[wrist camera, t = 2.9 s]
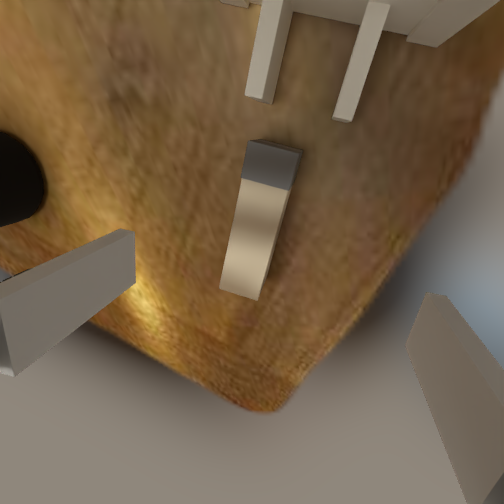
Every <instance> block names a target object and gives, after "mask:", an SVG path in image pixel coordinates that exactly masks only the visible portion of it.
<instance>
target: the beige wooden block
mask: <svg viewBox="0 0 504 504" xmlns="http://www.w3.org/2000/svg"><path fill="white" fill-rule="evenodd" d="M302 153H303V150H301V149H297V148H293V147H289V146H285V145H281V144H277V143H273V142H270V141H266V140H262V139H258V140H249V141H248V144H247V149H246V154H245V159H244V164H243V168H242V173H241V178H242V181H241V186H240V191H239V196H238V200H237V205H236V210H235V215H234V219H233V224H232V229H231V234H230V238H229V243H228V248H227V253H226V257H225V262H224V267H223V272H222V276H221V281H220V286H219V289H222V290H225V291H229V292H232V293H235V294H238V295H241V296H244V297H247V298H250V299H254V300H257V301H258V298H259V296H260V293H261V290H262V288H263V285H264V283H265V280H266V277H267V274H268V270H269V267H270V263H271V260H272V256H273V252H274V249H275V245H276V242H277V238H278V235H279V231H280V228H281V224H282V220H283V217H284V213H285V210H286V206H287V203H288V199H289V195H290V192H291V188H292V185H293V183H294V181H295V178H296V174H297V171H298V167H299V164H300V160H301V157H302Z"/></svg>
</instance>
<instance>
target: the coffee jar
mask: <svg viewBox="0 0 504 504" xmlns="http://www.w3.org/2000/svg"><path fill="white" fill-rule="evenodd" d="M42 197H43V179H42V176H41V172H40V169H39V167H38V165H37V163H36V161H35V160H34V158H33V156H32V155H31V154H30V153H29V152H28V151H27V149H26V148H25V147H24V146H23V145H22V144H20V143H19V142H17V141H16V140H14V139H13V138H11V137H10V136H8V135H7V134H5V133H2V132H0V227H2V226H6V225H9V224H12V223H16V222H19V221H22V220H24V219H26V218H29V217H30V216H31V215H32V214H33V213H34V212H35V210H36V209H37V208H38V206H39V204H40V203H41V200H42Z"/></svg>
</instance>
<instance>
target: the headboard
mask: <svg viewBox="0 0 504 504" xmlns="http://www.w3.org/2000/svg"><path fill="white" fill-rule="evenodd" d="M499 1H500V0H220V2H221V3H225V4H230V5H234V6H239V7H244V8H249V3H254V4H259V5H262V6H261V11H260V16H259V22H258V27H257V32H256V37H255V42H254V48H253V53H252V58H251V63H250V69H249V74H248V79H247V84H246V89H245V96H247V97H250V98H252V99H254V100H256V101H259V102H263V103H267V104H271V105H272V103H273V98H274V94H275V89H276V85H277V81H278V76H279V72H280V68H281V63H282V59H283V54H284V50H285V46H286V41H287V37H288V33H289V28H290V24H291V19H292V15H293V12H298V13H302V14H307V15H312V16H317V17H322V18H327V19H332V20H336V21H341V22H346V23H351V24H356V25H360V28H359V31H358V34H357V37H356V41H355V44H354V47H353V50H352V54H351V57H350V60H349V63H348V67H347V70H346V73H345V76H344V80H343V83H342V86H341V90H340V93H339V96H338V99H337V103H336V106H335V109H334V112H333V116H332V119H333V120H337V121H341V122H345V123H348V122H351V121H352V119H353V116H354V113H355V110H356V107H357V104H358V101H359V98H360V95H361V92H362V89H363V86H364V83H365V80H366V77H367V74H368V71H369V68H370V65H371V62H372V59H373V56H374V53H375V50H376V47H377V44H378V41H379V38H380V35H381V32H382V30H385V31H390V32H395V33H399V34H404V35H408V36H407V39H406V41H407V42H412V43H417V44H421V45H426V46H431V47H436V48H437V47H438V46H440V45H441V44H442V43H444V42H445V41H446V40H448V39H449V38H450V37H452V36H453V35H454V34H456V33H457V32H458V31H460V30H461V29H462V28H464V27H465V26H466V25H468V24H469V23H470V22H472V21H473V20H474V19H476V18H477V17H479V16H480V15H481V14H483V13H484V12H485V11H487V10H488V9H489V8H491V7H492V6H493V5H495V4H496V3H497V2H499Z"/></svg>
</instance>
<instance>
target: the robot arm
mask: <svg viewBox="0 0 504 504" xmlns="http://www.w3.org/2000/svg"><path fill="white" fill-rule="evenodd" d="M135 283H136V276H135V232H134V231H129V230H124V229H118V230H116V231H114V232H112V233H109V234H107V235H105V236H103V237H101V238H98V239H96V240H94V241H92V242H90V243H87V244H85V245H83V246H81V247H79V248H76V249H74V250H72V251H70V252H67V253H65V254H63V255H61V256H59V257H56V258H54V259H52V260H50V261H48V262H45V263H43V264H41V265H39V266H37V267H34V268H31V269H27V270H25V271H23V272H21V273H18V274H16V275H14V277H10V278H7V279H5V280H3V282H0V373H3V374H6V375H9V376H13V377H15V376H16V375H18V374H19V373H20V372H22V371H23V370H24V369H26V368H27V367H28V366H29V365H30V364H32V363H33V362H35V361H36V360H37V359H38V358H40V357H41V356H42V355H43V354H45V353H46V352H47V351H49V350H50V349H51V348H52V347H54V346H55V345H56V344H58V343H59V342H60V341H61V340H63V339H64V338H65V337H67V336H68V335H69V334H70V333H72V332H73V331H74V330H76V329H77V328H78V327H79V326H81V325H82V324H83V323H85V322H86V321H87V320H88V319H90V318H91V317H92V316H94V315H95V314H96V313H97V312H99V311H100V310H101V309H103V308H104V307H105V306H106V305H108V304H109V303H110V302H112V301H113V300H114V299H115V298H117V297H118V296H119V295H120V294H122V293H123V292H124V291H126V290H127V289H128V288H129V287H131V286H132V285H133V284H135ZM405 347H406V350H407V352H408V355H409V357H410V360H411V363H412V365H413V368H414V370H415V373H416V375H417V378H418V380H419V383H420V385H421V388H422V390H423V393H424V395H425V398H426V401H427V403H428V406H429V408H430V411H431V413H432V416H433V418H434V421H435V423H436V426H437V428H438V431H439V434H440V436H441V439H442V441H443V444H444V446H445V449H446V451H447V454H448V456H449V459H450V461H451V464H452V467H453V469H454V471H455V474H456V477H457V479H458V482H459V484H460V487H461V489H462V492H463V494H464V497H465V500H466V502H467V504H504V370H503V368H502V367H501V366H500V364H499V363H498V362H497V361H496V359H495V358H494V357H493V355H492V354H491V353H490V352H489V350H488V349H487V348H486V347H485V345H484V344H483V343H482V341H481V340H480V339H479V338H478V336H477V335H476V334H475V332H474V331H473V330H472V329H471V327H470V326H469V325H468V323H467V322H466V321H465V320H464V318H463V317H462V316H461V314H460V313H459V312H458V310H457V309H456V308H455V307H454V305H453V304H452V303H451V302H450V300H449V299H448V298H447V296H443V295H438V294H434V293H429V292H426V294H425V297H424V299H423V302H422V304H421V307H420V310H419V312H418V315H417V317H416V320H415V322H414V324H413V327H412V329H411V332H410V334H409V337H408V339H407V342H406V344H405Z"/></svg>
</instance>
